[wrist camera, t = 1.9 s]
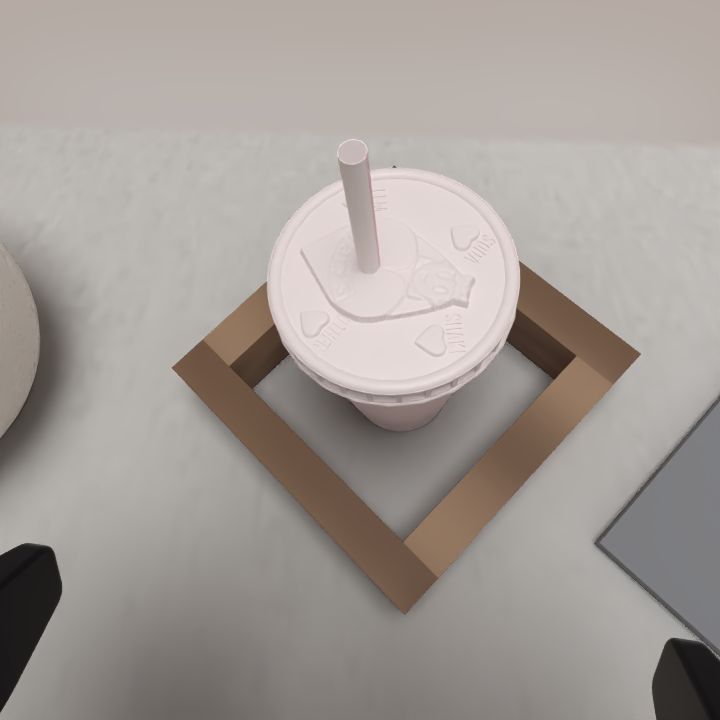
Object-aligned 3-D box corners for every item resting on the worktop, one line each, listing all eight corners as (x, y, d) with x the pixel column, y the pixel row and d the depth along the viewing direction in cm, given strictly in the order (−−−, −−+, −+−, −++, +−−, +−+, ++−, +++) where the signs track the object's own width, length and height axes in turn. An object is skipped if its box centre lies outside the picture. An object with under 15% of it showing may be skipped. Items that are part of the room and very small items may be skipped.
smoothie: (349, 296, 25) (277, 0, 12) (499, 334, 24) (598, 52, 11) (298, 439, 24) (150, 271, 10) (459, 488, 22) (519, 367, 9)
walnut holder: (406, 609, 21) (404, 614, 18) (199, 391, 25) (171, 367, 22) (613, 380, 23) (640, 354, 20) (396, 208, 27) (394, 165, 24)
